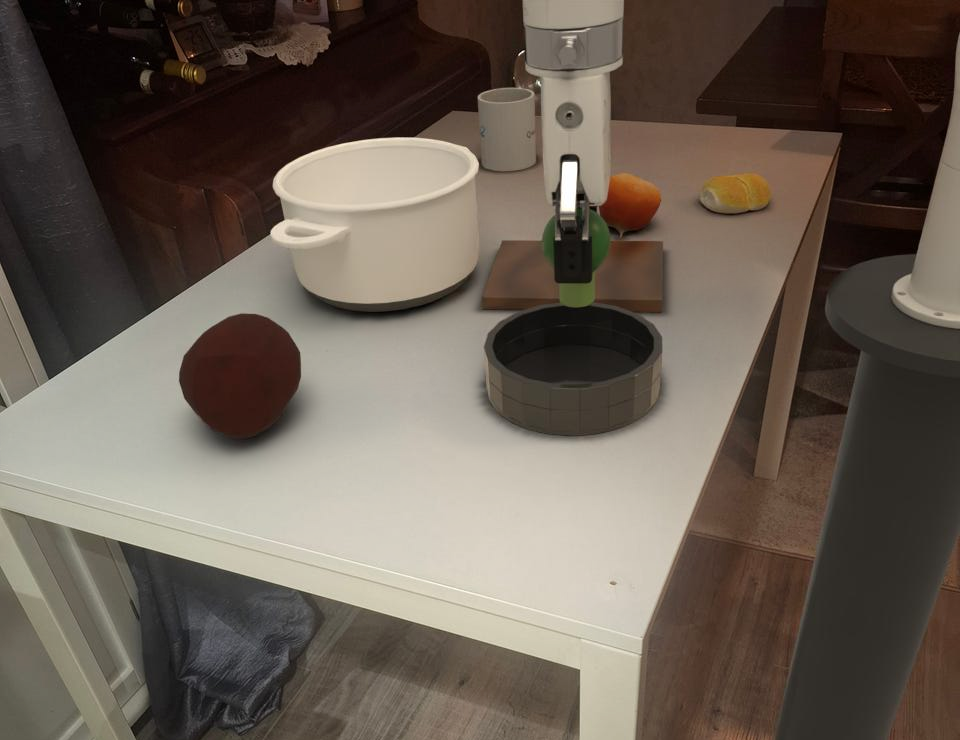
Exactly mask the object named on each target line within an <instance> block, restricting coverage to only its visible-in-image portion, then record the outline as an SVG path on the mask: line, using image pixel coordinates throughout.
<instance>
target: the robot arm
mask: <svg viewBox="0 0 960 740" xmlns="http://www.w3.org/2000/svg"><path fill="white" fill-rule="evenodd" d="M624 8H625V0H522V13H523V14H522V17H523V18H522V20H523V39H524V41H523V43H524V62H525V63H524V65H525V66H524V67H525V72H527V73H528V74H530V75H533V76H535V77H540V79H539V80H540V114H541V115H540V117H541V141H542V145H541V146H542V162H543V163H542V164H543V179H544V191H545V192H544V193H545V201H546V202H547V204H549V205H550V206H551V207H554V215H555V237H554V238H553V246H554V279H555V282H556V283H590V282H591V281H592V237H589V209H591V210H593V211H595V212H596V213H598V207H599V206H601V205H602V204H604V203H605V201H606V200H607V195H608V189H609V182H610V177H611V173H612V171H611V170H612V165H611V164H612V163H611V161H612V160H611V145H612V144H611V141H612V139H611V133H612V132H611V131H612V129H611V128H612V124H611V123H612V115H611V114H612V108H611V107H612V104H611V103H612V102H611V101H612V100H611V99H612V97H611V73H610V72H613V71H616V70H618V69H619V68H621V67H622V65H623V62H624V12H625V11H624V10H625V9H624ZM954 62H955V64H954V84H953V85H954V86H953V96H952V97H953V99H952V106H951V111H950V116H949V122H948V127H947V131H946V136H945V140H944V143H943V144H944V145H943V147H942V151H941V156H940V159H939V162H938V167H937V172H936V174H935V179H934V183H933V188H932V191H931V194H930V200H929V203H928V208H927V212H926V216H925V220H924V224H923V227H922V232H921V236H920V240H919V243H918V247H917V248H918V249H917V251H916V254H917V255H916V259H915V263H914V267H913V271H912V274H909V275H907V276H904V277H903V278H901V279H899V280H898V281H897V282H896V283H895V284H894V287H893V290H892V295H891V298H892V301H893V303H894V304H895V306H896V307H897V308H898V309H899V310H901V311H902V312H903V313H905V314H906V315H908V316H910V317H912V318H914V319H917V320H919V321H922V322H925V323H928V324H931V325H935V326H940V327H945V328H952V329H960V33H959V34H958V38H957V43H956V49H955V61H954ZM595 204H597V205H595ZM577 209H582V220H581V216H577Z"/></svg>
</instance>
